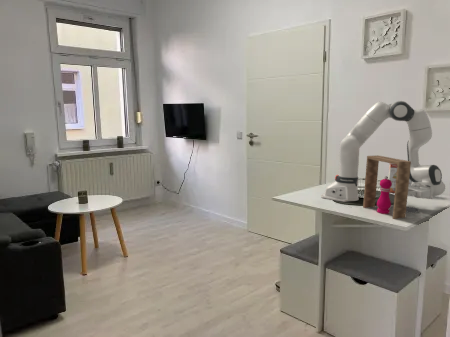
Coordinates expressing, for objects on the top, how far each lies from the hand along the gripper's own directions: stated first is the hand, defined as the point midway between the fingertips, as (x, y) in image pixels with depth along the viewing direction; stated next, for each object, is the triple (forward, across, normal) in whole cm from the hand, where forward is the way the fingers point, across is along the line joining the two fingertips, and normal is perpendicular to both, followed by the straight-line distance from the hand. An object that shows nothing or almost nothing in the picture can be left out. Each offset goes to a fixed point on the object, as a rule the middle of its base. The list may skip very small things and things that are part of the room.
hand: (400, 191), depth 203 cm
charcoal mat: (-6, 0, +11) cm, 13 cm away
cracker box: (-34, -34, +11) cm, 50 cm away
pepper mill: (+11, 0, +11) cm, 15 cm away
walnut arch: (+11, 0, +11) cm, 15 cm away
